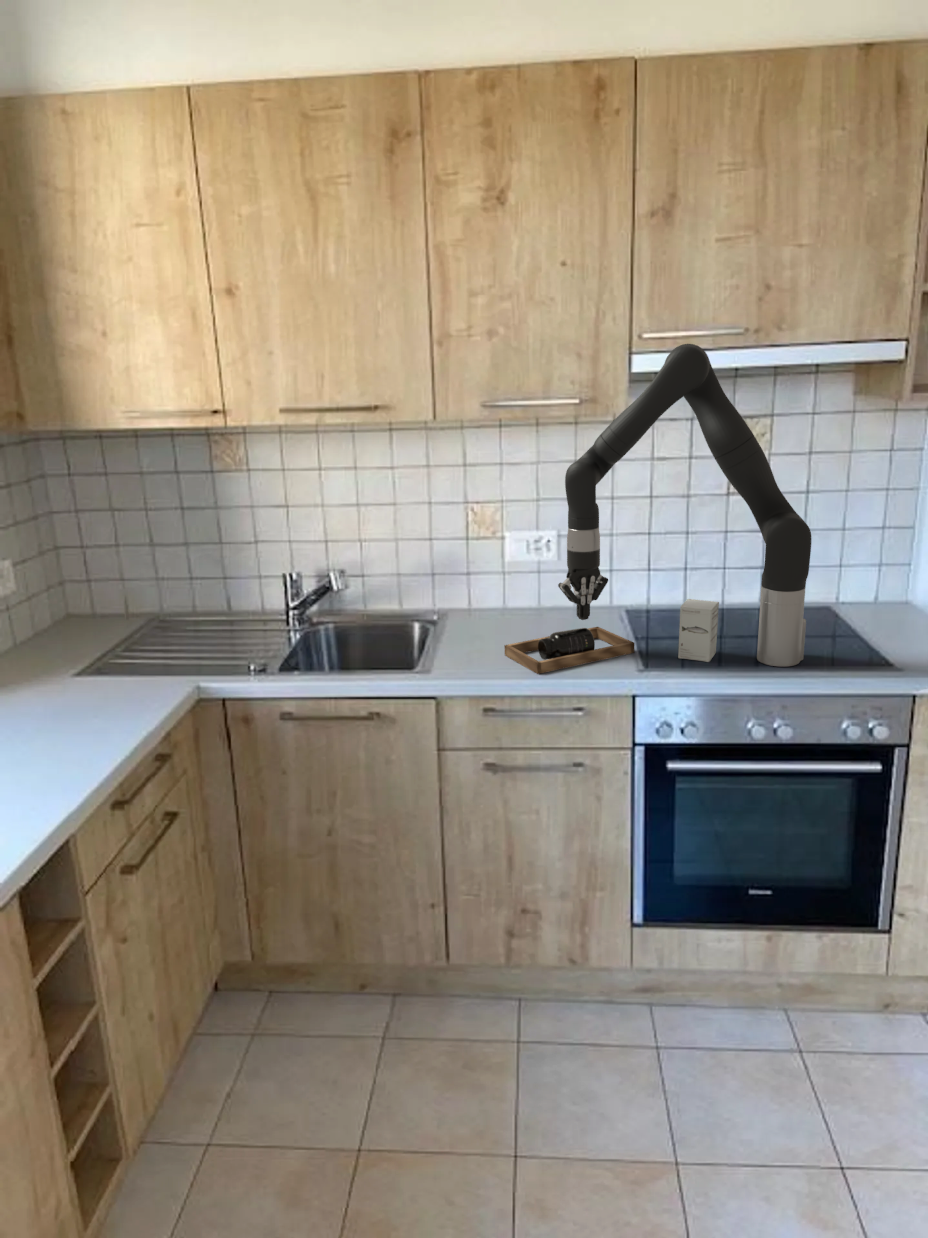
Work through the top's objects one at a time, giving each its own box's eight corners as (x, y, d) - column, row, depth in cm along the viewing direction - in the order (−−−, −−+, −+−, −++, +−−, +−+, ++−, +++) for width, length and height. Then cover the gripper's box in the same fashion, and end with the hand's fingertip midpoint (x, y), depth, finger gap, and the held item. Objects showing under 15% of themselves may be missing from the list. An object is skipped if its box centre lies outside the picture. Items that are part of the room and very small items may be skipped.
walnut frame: (597, 636, 224) (597, 626, 224) (634, 652, 212) (634, 642, 211) (504, 655, 213) (504, 645, 213) (537, 674, 200) (537, 663, 200)
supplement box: (677, 659, 206) (678, 606, 203) (685, 649, 213) (687, 597, 209) (709, 663, 203) (712, 609, 199) (717, 653, 209) (719, 600, 206)
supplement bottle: (584, 656, 213) (538, 664, 209) (580, 628, 213) (533, 635, 209) (597, 656, 207) (550, 663, 203) (593, 626, 207) (545, 633, 203)
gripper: (568, 553, 201) (568, 627, 206) (616, 545, 206) (615, 618, 211) (550, 547, 207) (550, 619, 212) (598, 540, 213) (597, 610, 218)
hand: (583, 618), depth 212 cm, fingers closed
